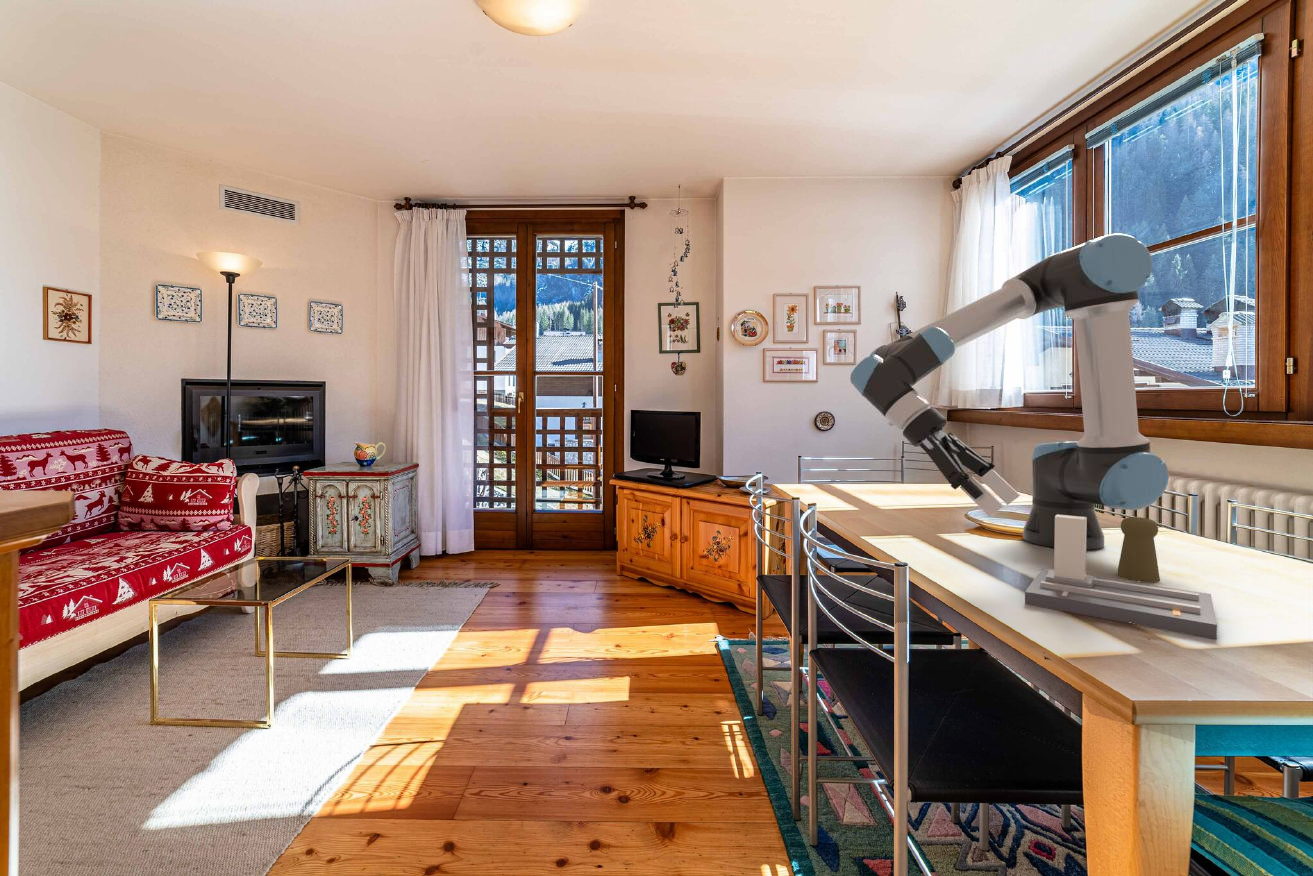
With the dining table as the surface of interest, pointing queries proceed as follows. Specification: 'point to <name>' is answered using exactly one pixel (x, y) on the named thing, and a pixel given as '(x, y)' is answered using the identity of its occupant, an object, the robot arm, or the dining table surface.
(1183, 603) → the board
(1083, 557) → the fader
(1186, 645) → the dining table surface
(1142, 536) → the cork
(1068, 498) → the robot arm
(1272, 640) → the dining table surface
